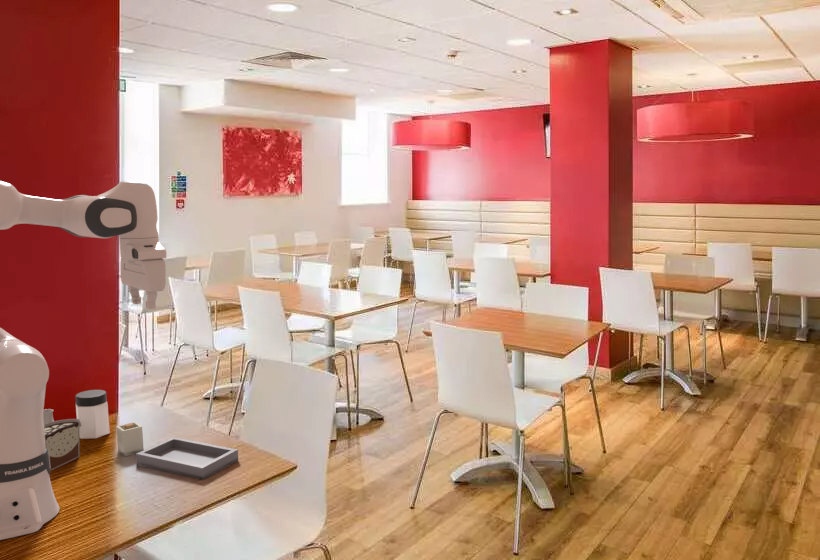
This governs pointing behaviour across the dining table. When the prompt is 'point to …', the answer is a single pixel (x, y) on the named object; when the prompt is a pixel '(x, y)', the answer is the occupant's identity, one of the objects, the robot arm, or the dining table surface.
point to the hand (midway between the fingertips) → (143, 306)
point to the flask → (48, 416)
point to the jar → (92, 413)
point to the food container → (62, 441)
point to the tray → (187, 458)
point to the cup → (130, 438)
